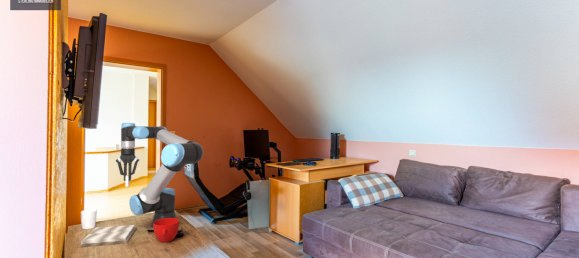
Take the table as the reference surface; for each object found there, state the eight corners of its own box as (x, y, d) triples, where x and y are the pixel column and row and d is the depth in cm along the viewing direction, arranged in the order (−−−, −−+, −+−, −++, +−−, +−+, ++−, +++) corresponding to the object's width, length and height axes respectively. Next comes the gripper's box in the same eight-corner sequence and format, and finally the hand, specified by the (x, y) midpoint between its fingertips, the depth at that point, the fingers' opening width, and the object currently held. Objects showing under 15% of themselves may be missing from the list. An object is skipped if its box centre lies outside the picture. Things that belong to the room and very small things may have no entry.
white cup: (98, 224, 180) (98, 208, 180) (94, 229, 173) (94, 212, 173) (83, 225, 178) (83, 209, 178) (78, 230, 170) (78, 213, 170)
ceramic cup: (149, 248, 146) (149, 228, 146) (155, 236, 162) (155, 218, 162) (176, 246, 150) (177, 227, 150) (180, 234, 166) (180, 217, 166)
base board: (136, 229, 174) (136, 224, 174) (127, 243, 153) (127, 238, 153) (94, 232, 167) (94, 227, 167) (78, 247, 146) (78, 242, 146)
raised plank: (134, 227, 173) (134, 224, 173) (130, 233, 163) (130, 230, 163) (95, 230, 167) (95, 227, 167) (89, 236, 157) (89, 233, 157)
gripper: (140, 147, 185) (140, 184, 185) (117, 147, 181) (117, 185, 181) (138, 148, 178) (137, 186, 178) (114, 148, 174) (113, 187, 174)
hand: (127, 186), depth 179 cm, fingers closed
